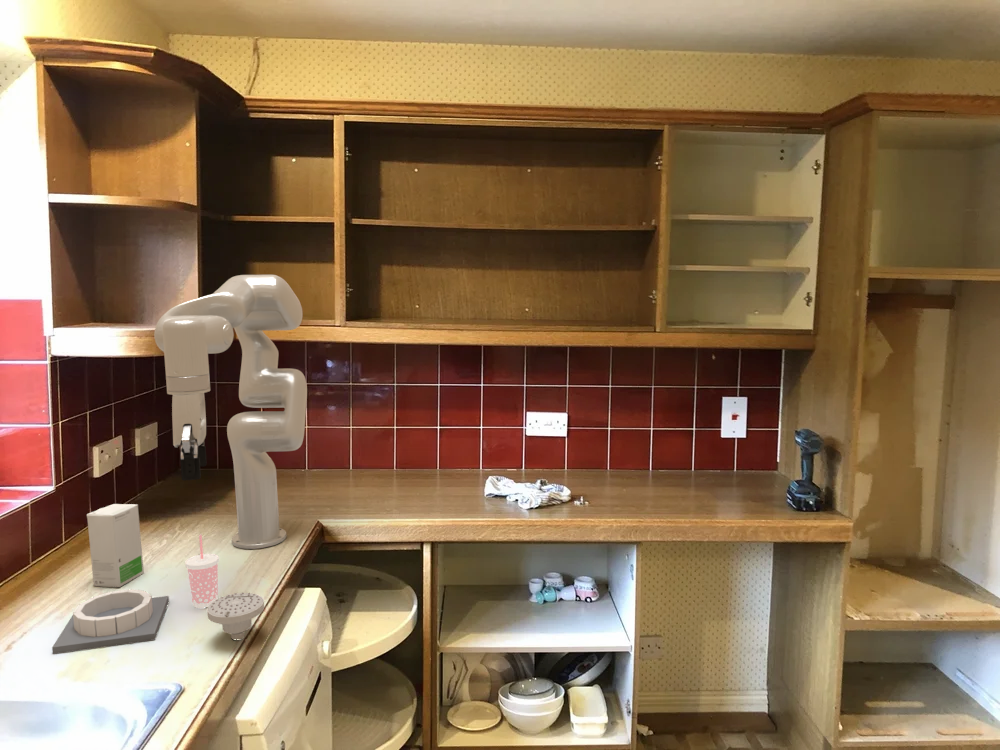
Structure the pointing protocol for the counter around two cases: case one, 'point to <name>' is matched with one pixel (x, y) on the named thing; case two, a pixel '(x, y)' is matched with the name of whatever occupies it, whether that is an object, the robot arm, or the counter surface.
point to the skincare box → (115, 545)
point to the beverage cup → (203, 577)
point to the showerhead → (235, 612)
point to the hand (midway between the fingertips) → (194, 472)
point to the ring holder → (112, 621)
